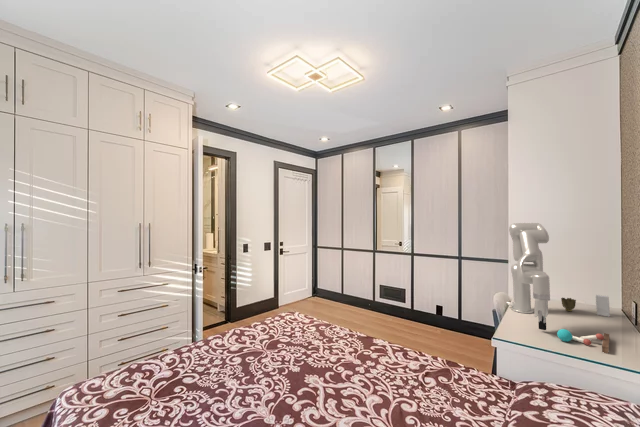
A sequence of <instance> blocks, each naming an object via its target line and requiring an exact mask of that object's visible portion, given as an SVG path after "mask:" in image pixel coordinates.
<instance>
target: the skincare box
mask: <svg viewBox="0 0 640 427" xmlns="http://www.w3.org/2000/svg"><path fill="white" fill-rule="evenodd" d="M609 298H610V297H609V295H601V294H595V305H596V306H595V307H596V315H597V316H602V317H611V310H610V299H609Z"/></svg>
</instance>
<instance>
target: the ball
mask: <svg viewBox="0 0 640 427" xmlns="http://www.w3.org/2000/svg"><path fill="white" fill-rule="evenodd" d="M556 336H557V337H558V339H559V340H560V341H562V342H565V343H566V342H567V343H568V342H571V341H573V340H572V336H573V334H572V332H571V331H569V330H568V329H565V328H561V329H558V330H557V331H556Z"/></svg>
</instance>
